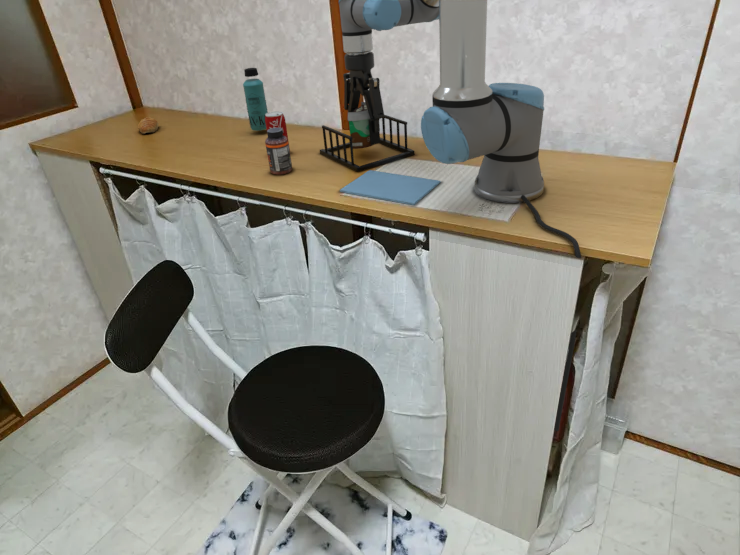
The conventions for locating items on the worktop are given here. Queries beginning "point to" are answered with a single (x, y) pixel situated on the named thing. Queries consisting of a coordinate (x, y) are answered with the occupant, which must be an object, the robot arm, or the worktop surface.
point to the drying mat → (391, 187)
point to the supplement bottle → (278, 152)
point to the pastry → (148, 125)
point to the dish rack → (330, 151)
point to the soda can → (276, 121)
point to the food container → (359, 127)
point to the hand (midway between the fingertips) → (365, 140)
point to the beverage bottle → (255, 100)
